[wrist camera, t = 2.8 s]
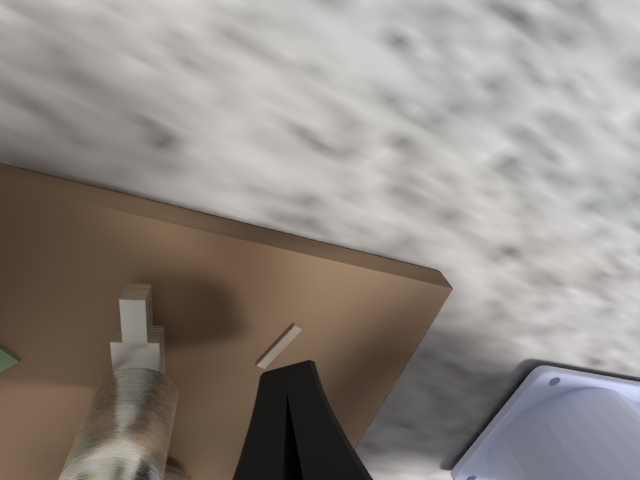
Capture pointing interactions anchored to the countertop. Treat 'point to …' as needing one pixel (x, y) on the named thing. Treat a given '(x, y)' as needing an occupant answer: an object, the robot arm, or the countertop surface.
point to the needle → (129, 404)
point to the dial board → (186, 319)
